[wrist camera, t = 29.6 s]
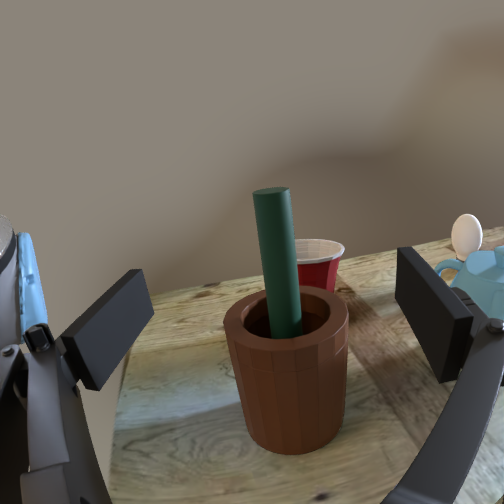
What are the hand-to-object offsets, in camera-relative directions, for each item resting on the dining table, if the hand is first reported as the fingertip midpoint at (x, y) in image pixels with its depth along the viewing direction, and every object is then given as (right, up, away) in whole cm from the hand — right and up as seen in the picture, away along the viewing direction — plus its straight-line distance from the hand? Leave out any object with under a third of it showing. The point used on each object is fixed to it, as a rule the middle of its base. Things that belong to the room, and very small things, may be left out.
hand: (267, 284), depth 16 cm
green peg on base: (+4, -15, +14) cm, 20 cm away
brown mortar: (+4, -15, +14) cm, 21 cm away
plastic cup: (+8, -9, +31) cm, 34 cm away
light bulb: (+42, -2, +38) cm, 57 cm away
